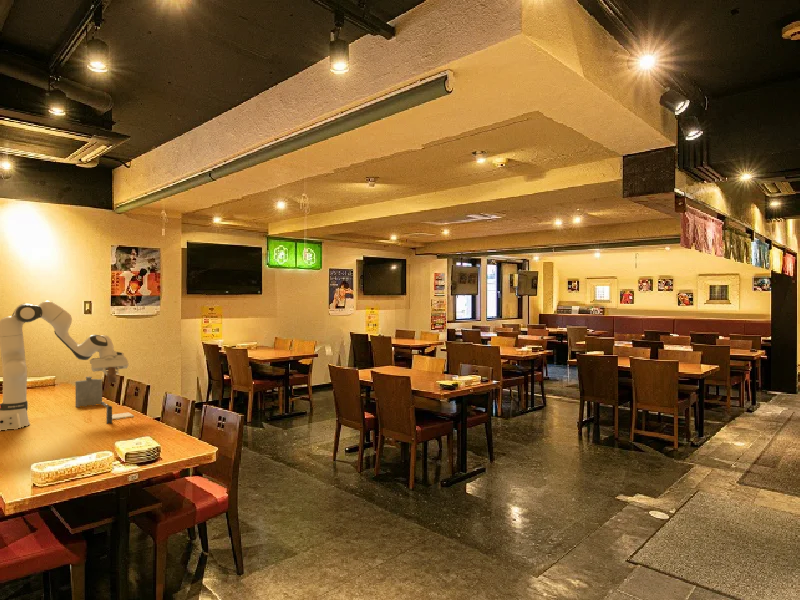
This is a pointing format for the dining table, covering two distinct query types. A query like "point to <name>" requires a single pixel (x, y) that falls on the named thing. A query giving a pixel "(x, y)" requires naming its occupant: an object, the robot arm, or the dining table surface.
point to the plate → (121, 415)
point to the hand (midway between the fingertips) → (112, 374)
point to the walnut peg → (112, 374)
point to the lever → (108, 412)
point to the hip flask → (88, 392)
